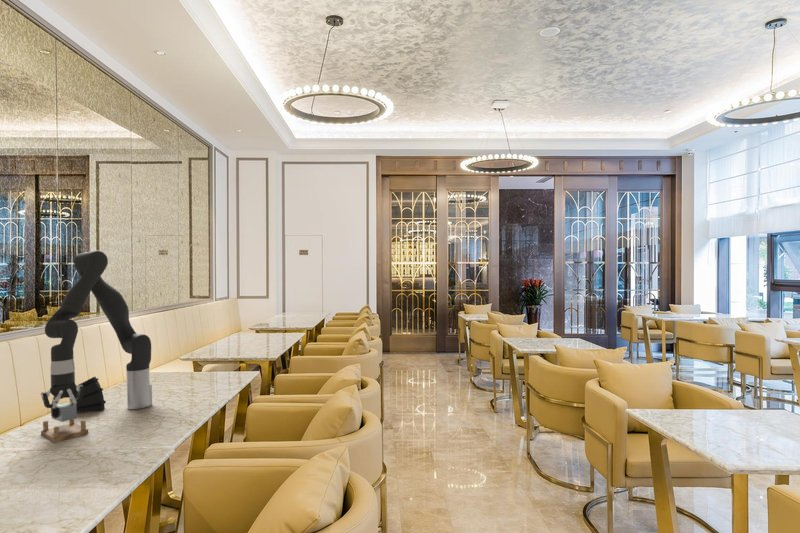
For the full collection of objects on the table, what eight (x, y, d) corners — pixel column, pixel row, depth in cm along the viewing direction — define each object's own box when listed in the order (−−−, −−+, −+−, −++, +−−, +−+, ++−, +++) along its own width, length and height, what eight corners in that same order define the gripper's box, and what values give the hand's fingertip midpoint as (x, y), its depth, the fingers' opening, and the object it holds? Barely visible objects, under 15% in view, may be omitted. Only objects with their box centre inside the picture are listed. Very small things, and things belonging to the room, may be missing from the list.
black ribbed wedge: (108, 406, 210) (92, 377, 209) (80, 421, 208) (63, 392, 207) (112, 404, 214) (96, 375, 213) (85, 418, 212) (68, 390, 211)
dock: (74, 426, 189) (74, 414, 189) (88, 433, 179) (87, 420, 180) (41, 434, 180) (40, 421, 180) (54, 442, 171) (53, 428, 171)
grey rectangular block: (66, 414, 184) (66, 401, 184) (76, 418, 179) (76, 404, 179) (51, 418, 180) (51, 405, 180) (61, 421, 175) (61, 408, 175)
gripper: (80, 367, 188) (81, 409, 188) (36, 374, 177) (38, 419, 176) (87, 369, 183) (88, 412, 183) (43, 376, 172) (44, 422, 172)
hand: (63, 415), depth 180 cm, fingers closed on grey rectangular block, 5 cm apart
